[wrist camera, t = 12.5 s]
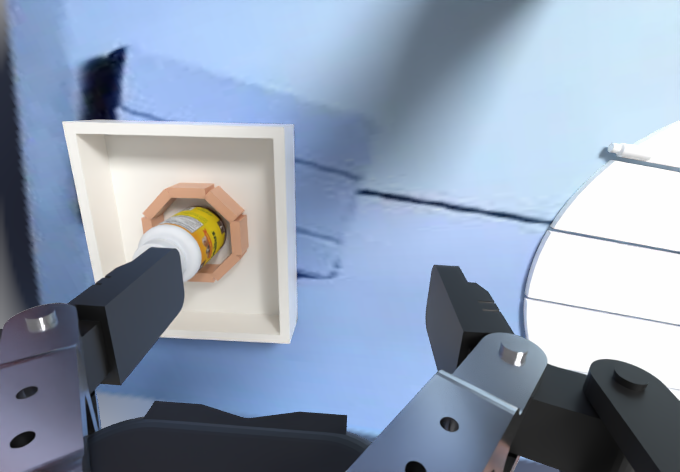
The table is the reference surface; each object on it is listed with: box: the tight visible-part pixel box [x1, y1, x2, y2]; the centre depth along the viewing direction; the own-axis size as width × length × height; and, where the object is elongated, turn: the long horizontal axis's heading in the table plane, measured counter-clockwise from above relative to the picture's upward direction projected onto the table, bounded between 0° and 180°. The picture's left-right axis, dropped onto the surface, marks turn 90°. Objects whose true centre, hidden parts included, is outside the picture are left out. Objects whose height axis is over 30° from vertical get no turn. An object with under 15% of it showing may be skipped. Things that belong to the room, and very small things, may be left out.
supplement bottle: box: [132, 205, 227, 282], centre depth 36 cm, size 6×6×10 cm
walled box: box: [62, 120, 298, 344], centre depth 40 cm, size 22×20×5 cm
